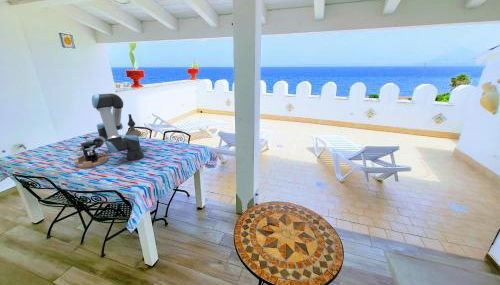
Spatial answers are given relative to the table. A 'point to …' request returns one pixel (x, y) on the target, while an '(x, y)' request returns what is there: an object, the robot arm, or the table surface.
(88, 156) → the french press
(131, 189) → the table surface
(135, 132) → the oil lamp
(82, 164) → the castellated ring
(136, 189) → the table surface
